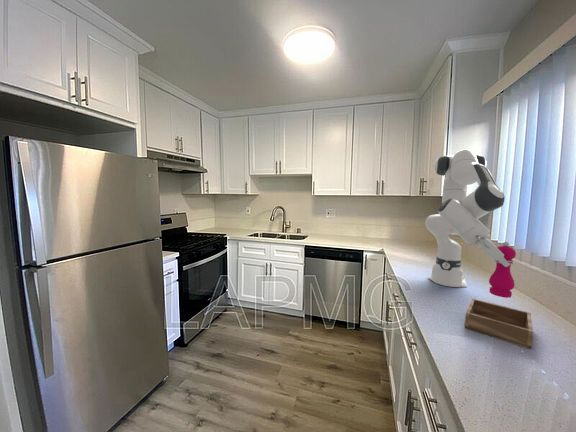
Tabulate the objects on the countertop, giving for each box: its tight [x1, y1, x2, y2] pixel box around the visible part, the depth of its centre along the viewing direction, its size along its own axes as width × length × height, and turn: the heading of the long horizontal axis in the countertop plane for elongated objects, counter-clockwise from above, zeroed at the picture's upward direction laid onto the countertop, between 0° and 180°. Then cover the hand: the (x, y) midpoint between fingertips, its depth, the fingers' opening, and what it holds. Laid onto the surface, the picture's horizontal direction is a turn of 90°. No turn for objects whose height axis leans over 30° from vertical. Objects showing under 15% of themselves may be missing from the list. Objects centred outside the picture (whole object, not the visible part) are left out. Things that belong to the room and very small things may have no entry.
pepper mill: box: [488, 241, 517, 299], centre depth 92 cm, size 7×7×20 cm
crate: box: [464, 298, 534, 350], centre depth 94 cm, size 18×18×6 cm
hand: (506, 263), depth 91 cm, fingers closed on pepper mill, 5 cm apart
